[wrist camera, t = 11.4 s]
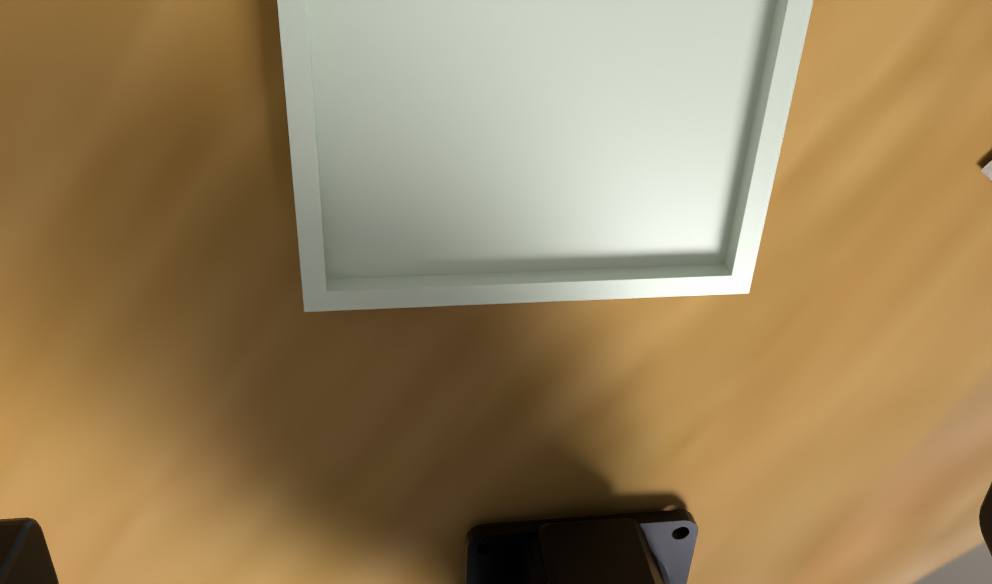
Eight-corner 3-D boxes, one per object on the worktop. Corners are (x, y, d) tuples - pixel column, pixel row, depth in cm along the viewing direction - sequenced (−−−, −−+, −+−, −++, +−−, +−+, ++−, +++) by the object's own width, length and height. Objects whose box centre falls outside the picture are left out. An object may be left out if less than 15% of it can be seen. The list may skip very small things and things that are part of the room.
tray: (733, 270, 22) (748, 293, 21) (305, 286, 21) (304, 312, 20) (859, -337, 16) (887, -337, 15) (251, -369, 14) (245, -371, 14)
